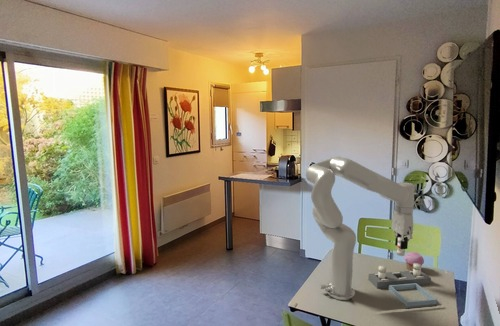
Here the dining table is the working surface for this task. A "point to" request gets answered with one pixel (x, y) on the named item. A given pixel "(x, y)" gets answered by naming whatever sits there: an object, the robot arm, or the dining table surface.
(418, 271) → the right fuse
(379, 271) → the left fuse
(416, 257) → the cupcake
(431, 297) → the tray
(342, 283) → the robot arm
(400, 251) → the cylinder
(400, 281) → the fuse holder
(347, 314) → the dining table surface
